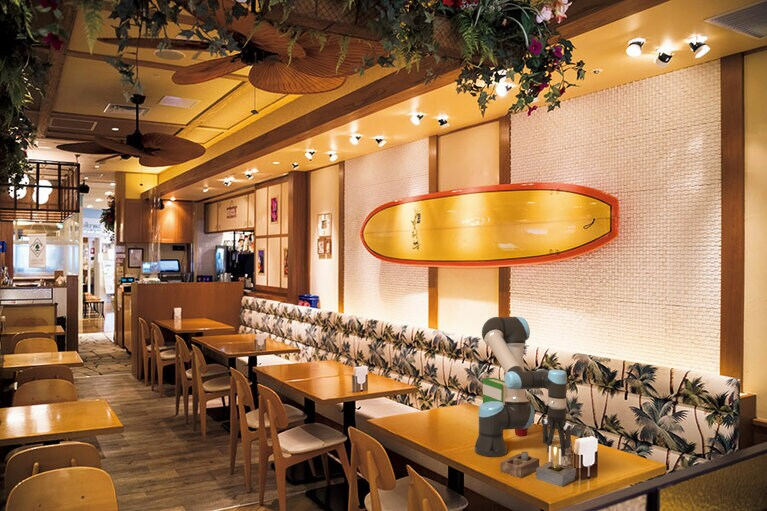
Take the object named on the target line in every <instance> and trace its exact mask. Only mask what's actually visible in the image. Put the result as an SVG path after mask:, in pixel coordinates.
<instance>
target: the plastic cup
mask: <svg viewBox="0 0 767 511" xmlns="http://www.w3.org/2000/svg"><path fill="white" fill-rule="evenodd" d="M528 431H529V428H525V429H514V434H515V436H517V437H523V438H524V437H526V436H527V435H528Z"/></svg>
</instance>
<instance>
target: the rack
mask: <svg viewBox="0 0 767 511" xmlns="http://www.w3.org/2000/svg"><path fill="white" fill-rule="evenodd" d="M538 467H540V458H539V457H538V458H537V457H534V456H530V455H529V452H528V451H525V450H523V451H521V453H519V452H518V453H517V454H515V455H513V456H510V457H508V458H506V459H504V460H501V461H500V470H499V472H500V471H501V472H500V473H502V472H504V473H503V474H505V473H507V474H506V475H508V474H510V475H509V476H512V475H513V476H512V477H515V476H516V477H515V478H518V477H519V478H518V479H522V478H524V477H526V476H528V475H529V474H532V473H534V472H536V468H538ZM521 477H522V478H521Z"/></svg>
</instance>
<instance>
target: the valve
mask: <svg viewBox="0 0 767 511" xmlns="http://www.w3.org/2000/svg"><path fill="white" fill-rule="evenodd" d="M549 431H550V430H548V435H549ZM564 436H565V438H566V429H564ZM556 440H560V439H559V434H555V433H554V436H553V441H556ZM553 441H552V443H553V444H551V445H554V442H553ZM544 444H545V446H547V444H546V443H544Z"/></svg>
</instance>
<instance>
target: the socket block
mask: <svg viewBox="0 0 767 511" xmlns="http://www.w3.org/2000/svg"><path fill="white" fill-rule="evenodd" d="M575 476H577V467H576V468H572V467H568V466H565V465H561V471H560V472H558V471H555V470H551V462H549V461H548V462H546V463H544V464H542V465H539V467H538V468H536V471H535V479H536V480H538V481H542V482H545V483H549V484H551V485H554V486H555V485H556V486H559V487H565V486H567V485H568V484H570V483H571V482H573V481H575V480H576V479H575Z"/></svg>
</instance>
